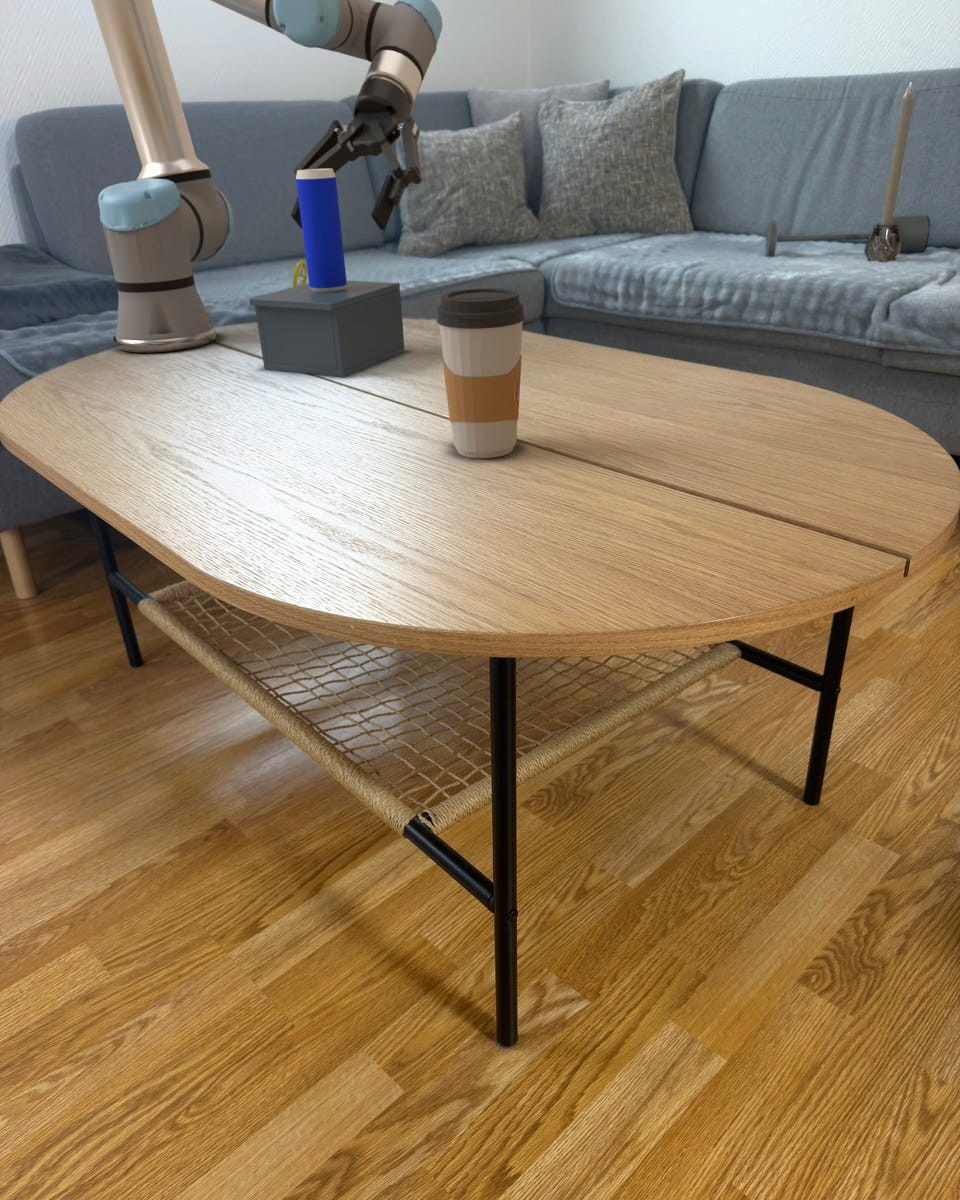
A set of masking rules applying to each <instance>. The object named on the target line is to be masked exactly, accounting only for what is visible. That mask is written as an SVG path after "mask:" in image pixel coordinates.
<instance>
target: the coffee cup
mask: <svg viewBox="0 0 960 1200" xmlns="http://www.w3.org/2000/svg"><path fill="white" fill-rule="evenodd" d="M520 301H521V300H520V294H519V292H518V291H516V290H513V289H509V288H508V289H507V288H497V287H495V288H494V287H480V288H479V287H477V288H465V289H457V290H451V291H448V292H444V293H442V294H441V296H440V305H439V306H438V307H437V318H436V323H437V324H438V325H439V333H440V342H441V348H442V349H441V350H442V358H441V359H442V366H443V367H442V368H443V375H444V383H445V390H446V391H445V393H446V400H447V407H448V408H447V409H448V417H449V423H450V425H451V434H452V442H453V444H452V445H453V447H455V450H456V452H457V453H458V454H459V455H461V456H464V457H466V458H472V459H493V458H499V457H503V456H506V455H509V454H510V453H511V452H513V451H514V447H515V445H516V444H517V434H518V420H519V415H520V413H519V412H520V395H521V394H520V393H521V392H520V391H521V378H522V377H521V376H522V356H523V354H522V341H523V340H522V338H523V321H525V319H526V317H525V313H524V311H523V310H524V304H523V303H521V302H520Z"/></svg>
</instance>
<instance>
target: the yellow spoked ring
mask: <svg viewBox="0 0 960 1200" xmlns="http://www.w3.org/2000/svg"><path fill="white" fill-rule="evenodd" d="M292 273H293V274H292V287H296V286H300V285H303V284H307V279H308V271H307V263H306V261H305V260H300V261H298V262H297V263H296V264H295V267H294V269H293V272H292ZM303 273H304V274H303ZM299 277H302V278H303V279H301V280H300V281H299V282H298V278H299Z"/></svg>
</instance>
